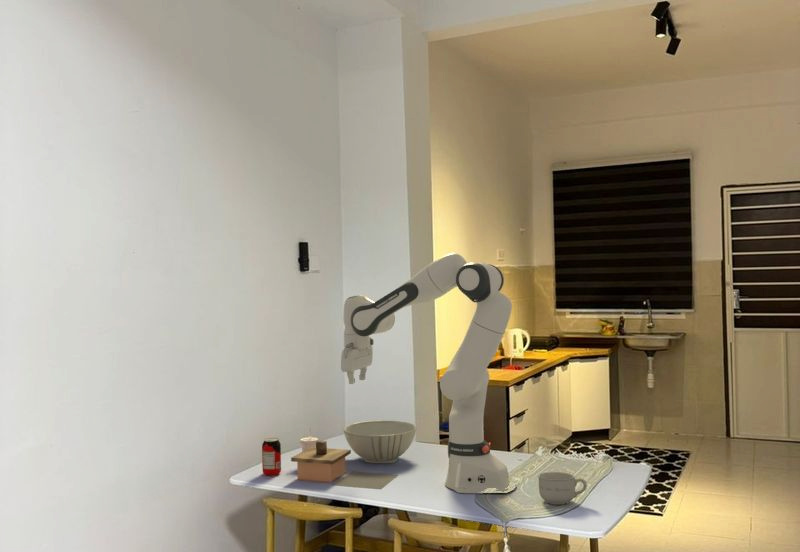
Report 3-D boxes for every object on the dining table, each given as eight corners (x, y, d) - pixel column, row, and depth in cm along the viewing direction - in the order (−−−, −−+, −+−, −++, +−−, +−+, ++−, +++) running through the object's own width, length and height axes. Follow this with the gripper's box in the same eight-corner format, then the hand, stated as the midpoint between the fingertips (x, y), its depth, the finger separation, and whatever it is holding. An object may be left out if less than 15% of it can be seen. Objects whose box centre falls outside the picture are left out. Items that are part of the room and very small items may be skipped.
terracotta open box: (345, 474, 244) (345, 454, 244) (330, 484, 232) (330, 462, 232) (313, 472, 248) (313, 451, 248) (297, 481, 236) (297, 460, 236)
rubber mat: (398, 476, 240) (398, 474, 240) (381, 491, 224) (381, 489, 224) (352, 472, 245) (352, 471, 245) (331, 486, 229) (331, 485, 229)
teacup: (532, 504, 209) (532, 476, 209) (547, 494, 218) (546, 468, 218) (579, 511, 201) (578, 483, 201) (591, 501, 210) (591, 474, 210)
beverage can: (285, 473, 247) (284, 438, 247) (272, 477, 242) (271, 442, 242) (271, 470, 250) (270, 436, 250) (258, 475, 245) (258, 440, 245)
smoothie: (315, 468, 252) (314, 429, 252) (298, 468, 253) (297, 428, 253) (320, 464, 258) (320, 425, 258) (304, 463, 260) (303, 425, 260)
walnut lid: (350, 453, 245) (350, 438, 245) (332, 464, 230) (332, 448, 230) (311, 450, 249) (311, 435, 249) (291, 461, 235) (290, 445, 235)
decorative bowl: (391, 474, 243) (391, 438, 243) (329, 464, 257) (328, 431, 258) (430, 456, 266) (429, 424, 266) (370, 448, 280) (370, 417, 280)
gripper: (353, 344, 237) (354, 386, 237) (375, 339, 256) (376, 378, 256) (335, 344, 239) (336, 385, 239) (359, 339, 258) (359, 377, 258)
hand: (357, 381), depth 247 cm, fingers open, 8 cm apart
